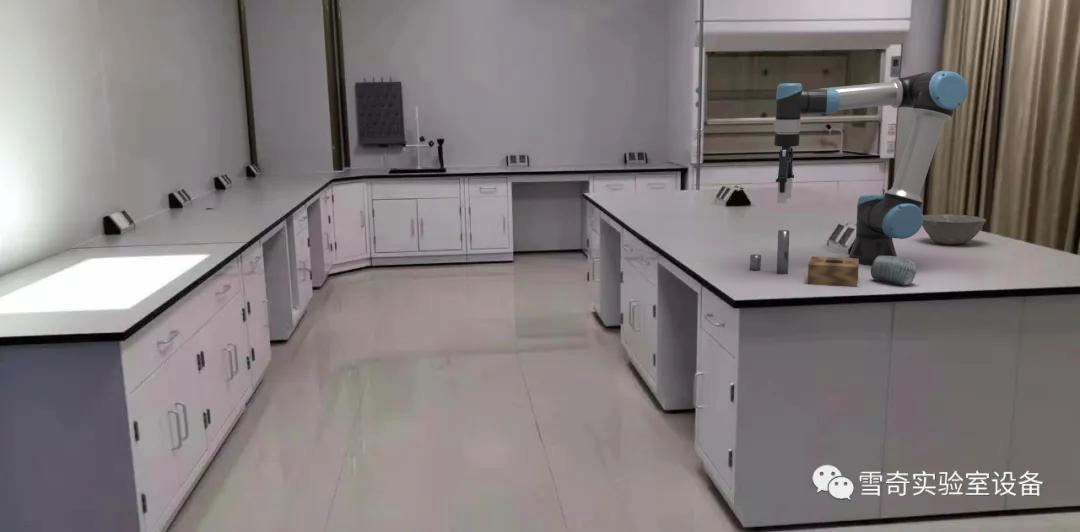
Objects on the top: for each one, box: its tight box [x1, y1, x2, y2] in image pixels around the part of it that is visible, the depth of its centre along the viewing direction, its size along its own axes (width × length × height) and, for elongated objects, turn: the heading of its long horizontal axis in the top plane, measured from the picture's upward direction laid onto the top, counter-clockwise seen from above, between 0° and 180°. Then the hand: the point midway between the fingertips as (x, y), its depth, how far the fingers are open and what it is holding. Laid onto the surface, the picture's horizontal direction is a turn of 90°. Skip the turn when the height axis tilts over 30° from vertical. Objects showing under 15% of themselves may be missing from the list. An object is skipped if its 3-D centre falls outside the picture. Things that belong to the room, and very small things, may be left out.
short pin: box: [749, 253, 762, 272], centre depth 271 cm, size 4×4×5 cm
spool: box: [870, 256, 917, 286], centre depth 248 cm, size 14×10×10 cm
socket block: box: [807, 256, 860, 287], centre depth 252 cm, size 14×14×6 cm
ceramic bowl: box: [921, 213, 987, 245], centre depth 311 cm, size 22×23×10 cm
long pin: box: [776, 229, 790, 275], centre depth 264 cm, size 4×4×14 cm
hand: (784, 200), depth 261 cm, fingers open, 13 cm apart
